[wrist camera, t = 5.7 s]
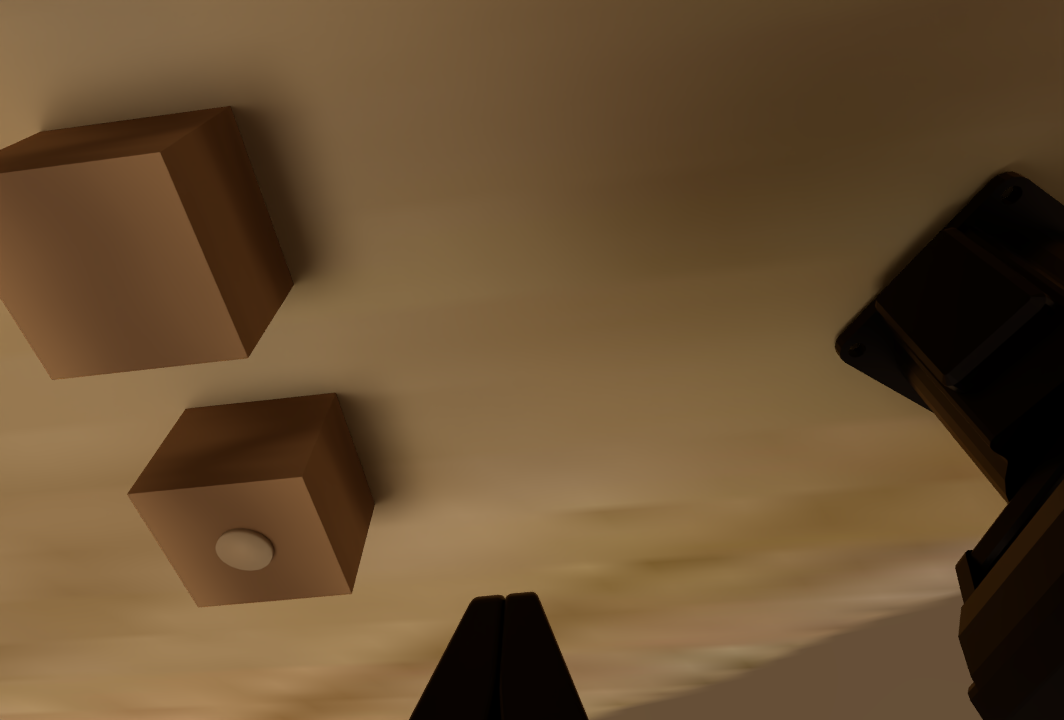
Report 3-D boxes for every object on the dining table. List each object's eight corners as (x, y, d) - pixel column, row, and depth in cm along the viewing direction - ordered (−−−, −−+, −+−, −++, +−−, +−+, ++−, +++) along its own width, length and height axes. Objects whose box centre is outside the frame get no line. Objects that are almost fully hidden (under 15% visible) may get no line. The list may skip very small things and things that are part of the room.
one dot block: (336, 390, 22) (300, 482, 18) (375, 501, 25) (350, 599, 21) (187, 406, 22) (123, 499, 19) (242, 513, 25) (195, 612, 21)
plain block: (231, 104, 17) (160, 152, 14) (295, 282, 20) (247, 357, 16) (43, 130, 17) (-72, 182, 14) (131, 301, 20) (52, 379, 17)
